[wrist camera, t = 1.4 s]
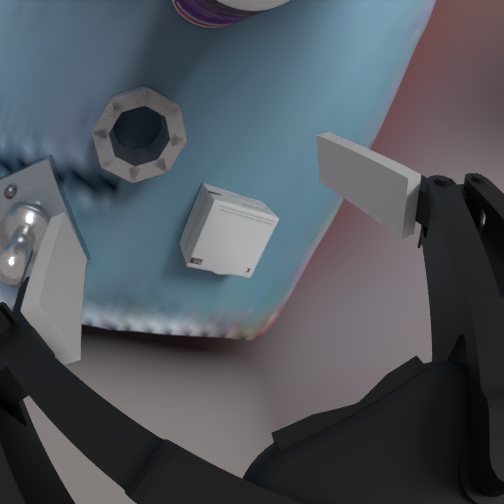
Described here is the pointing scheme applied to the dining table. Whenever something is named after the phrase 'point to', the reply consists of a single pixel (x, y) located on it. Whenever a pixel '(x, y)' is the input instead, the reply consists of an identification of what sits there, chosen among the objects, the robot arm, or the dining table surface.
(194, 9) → the pill bottle
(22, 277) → the block
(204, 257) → the small box
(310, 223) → the dining table surface
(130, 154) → the tube
